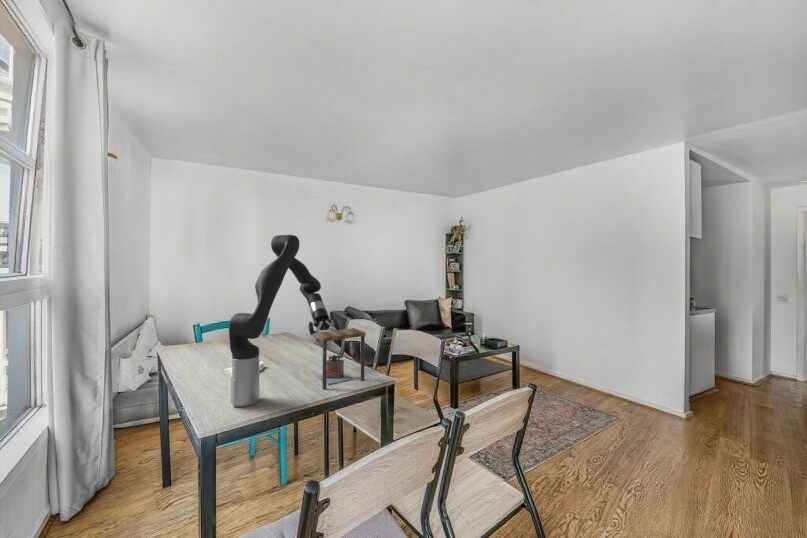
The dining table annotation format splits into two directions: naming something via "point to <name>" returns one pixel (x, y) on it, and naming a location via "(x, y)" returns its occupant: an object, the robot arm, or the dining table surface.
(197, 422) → the dining table surface
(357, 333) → the miniature side table
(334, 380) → the pad
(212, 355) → the dining table surface
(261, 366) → the white brass knuckles
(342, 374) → the lighter
